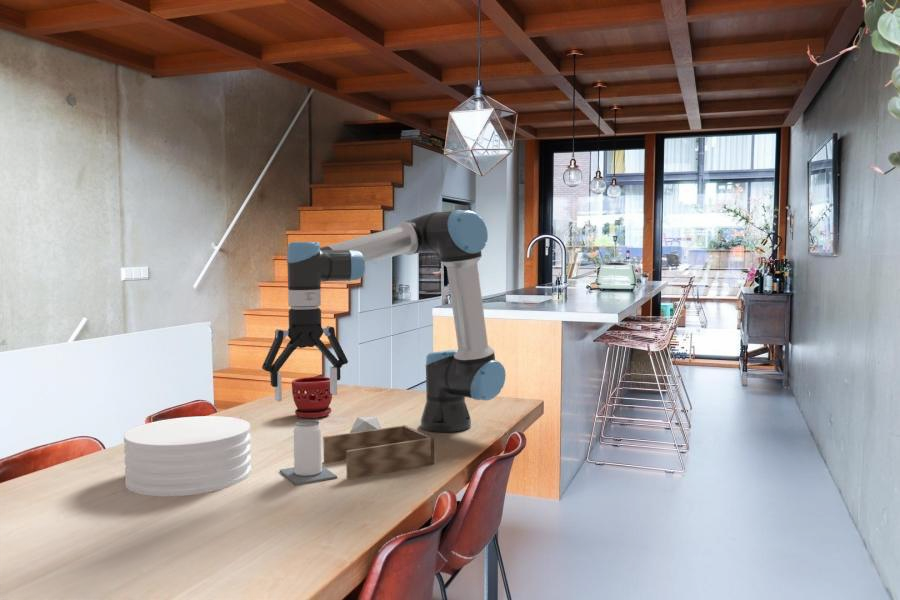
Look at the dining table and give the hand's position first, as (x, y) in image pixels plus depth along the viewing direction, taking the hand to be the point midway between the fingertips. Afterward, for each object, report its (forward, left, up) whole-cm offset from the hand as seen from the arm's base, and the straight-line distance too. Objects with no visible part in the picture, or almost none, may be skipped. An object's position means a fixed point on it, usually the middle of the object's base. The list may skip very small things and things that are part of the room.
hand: (306, 397), depth 171 cm
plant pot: (-23, -60, -19) cm, 67 cm away
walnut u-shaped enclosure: (-18, 0, -19) cm, 26 cm away
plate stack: (+24, -14, -19) cm, 34 cm away
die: (-22, -15, -19) cm, 33 cm away
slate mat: (0, 0, -19) cm, 19 cm away
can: (0, 0, -18) cm, 18 cm away
